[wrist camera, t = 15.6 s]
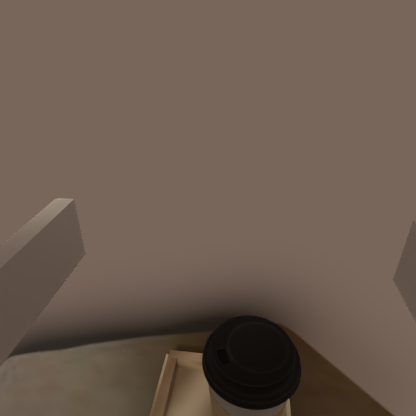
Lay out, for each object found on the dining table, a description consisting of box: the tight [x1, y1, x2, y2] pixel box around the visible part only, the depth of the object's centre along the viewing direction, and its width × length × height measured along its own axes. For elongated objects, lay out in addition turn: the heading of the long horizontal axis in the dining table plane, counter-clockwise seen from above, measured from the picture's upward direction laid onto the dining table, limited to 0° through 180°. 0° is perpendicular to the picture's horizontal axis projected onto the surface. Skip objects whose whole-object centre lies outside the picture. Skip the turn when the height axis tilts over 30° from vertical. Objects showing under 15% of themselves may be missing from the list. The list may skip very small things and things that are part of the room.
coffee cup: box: [202, 316, 301, 416], centre depth 35 cm, size 9×9×15 cm
